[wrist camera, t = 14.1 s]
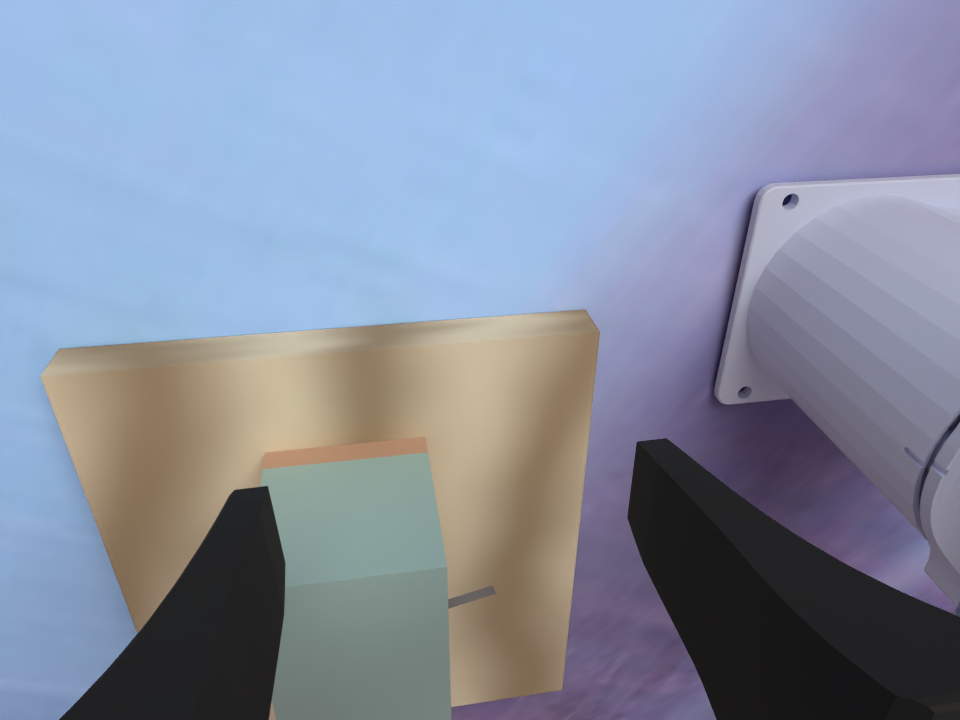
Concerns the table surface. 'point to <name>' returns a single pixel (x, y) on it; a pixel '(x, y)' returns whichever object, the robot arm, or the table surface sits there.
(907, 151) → the table surface
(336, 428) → the birch board
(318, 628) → the block
